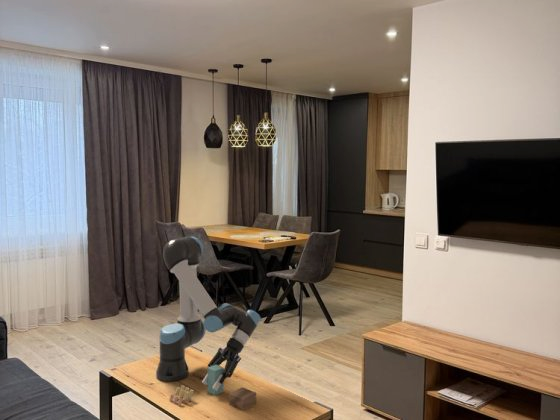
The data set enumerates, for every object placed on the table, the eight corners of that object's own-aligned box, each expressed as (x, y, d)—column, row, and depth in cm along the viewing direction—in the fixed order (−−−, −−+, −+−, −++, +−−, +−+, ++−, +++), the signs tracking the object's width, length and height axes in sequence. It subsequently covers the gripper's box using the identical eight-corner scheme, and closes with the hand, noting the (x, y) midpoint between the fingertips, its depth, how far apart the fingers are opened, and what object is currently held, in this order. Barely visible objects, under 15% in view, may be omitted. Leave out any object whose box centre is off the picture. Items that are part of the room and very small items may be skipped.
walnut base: (229, 405, 205) (229, 393, 205) (241, 398, 211) (242, 387, 211) (243, 411, 200) (243, 399, 200) (255, 404, 207) (256, 392, 206)
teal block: (207, 391, 217) (207, 367, 216) (216, 388, 220) (216, 364, 220) (214, 395, 213) (214, 371, 213) (223, 391, 217) (223, 367, 216)
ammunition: (183, 384, 214) (168, 390, 208) (194, 389, 209) (179, 395, 203) (183, 394, 214) (168, 400, 208) (194, 400, 209) (179, 406, 203)
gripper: (256, 351, 220) (228, 397, 209) (228, 340, 233) (200, 383, 223) (247, 342, 215) (218, 389, 205) (219, 331, 229) (190, 375, 219)
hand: (209, 386), depth 214 cm, fingers open, 7 cm apart
